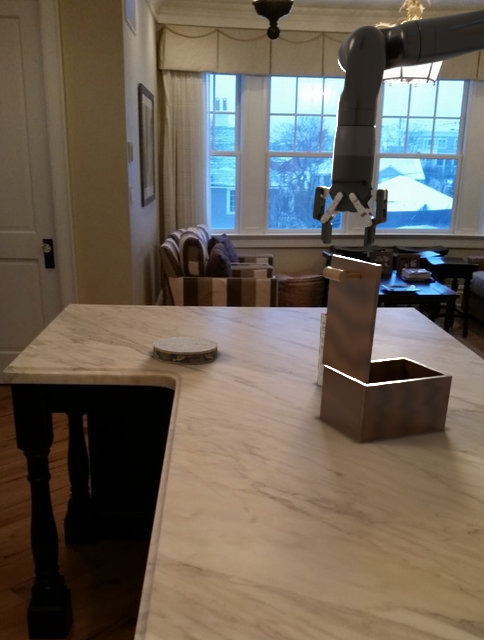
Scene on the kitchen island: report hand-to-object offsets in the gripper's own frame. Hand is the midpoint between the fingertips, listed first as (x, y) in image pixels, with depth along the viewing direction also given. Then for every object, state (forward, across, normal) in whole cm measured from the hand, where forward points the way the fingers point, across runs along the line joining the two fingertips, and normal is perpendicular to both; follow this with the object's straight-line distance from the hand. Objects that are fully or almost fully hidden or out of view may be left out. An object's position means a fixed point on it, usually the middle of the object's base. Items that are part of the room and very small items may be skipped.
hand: (346, 245), depth 135 cm
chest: (+31, -14, +9) cm, 35 cm away
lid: (+10, -10, +16) cm, 22 cm away
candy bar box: (+31, +4, -11) cm, 33 cm away
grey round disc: (+31, +45, -8) cm, 55 cm away
